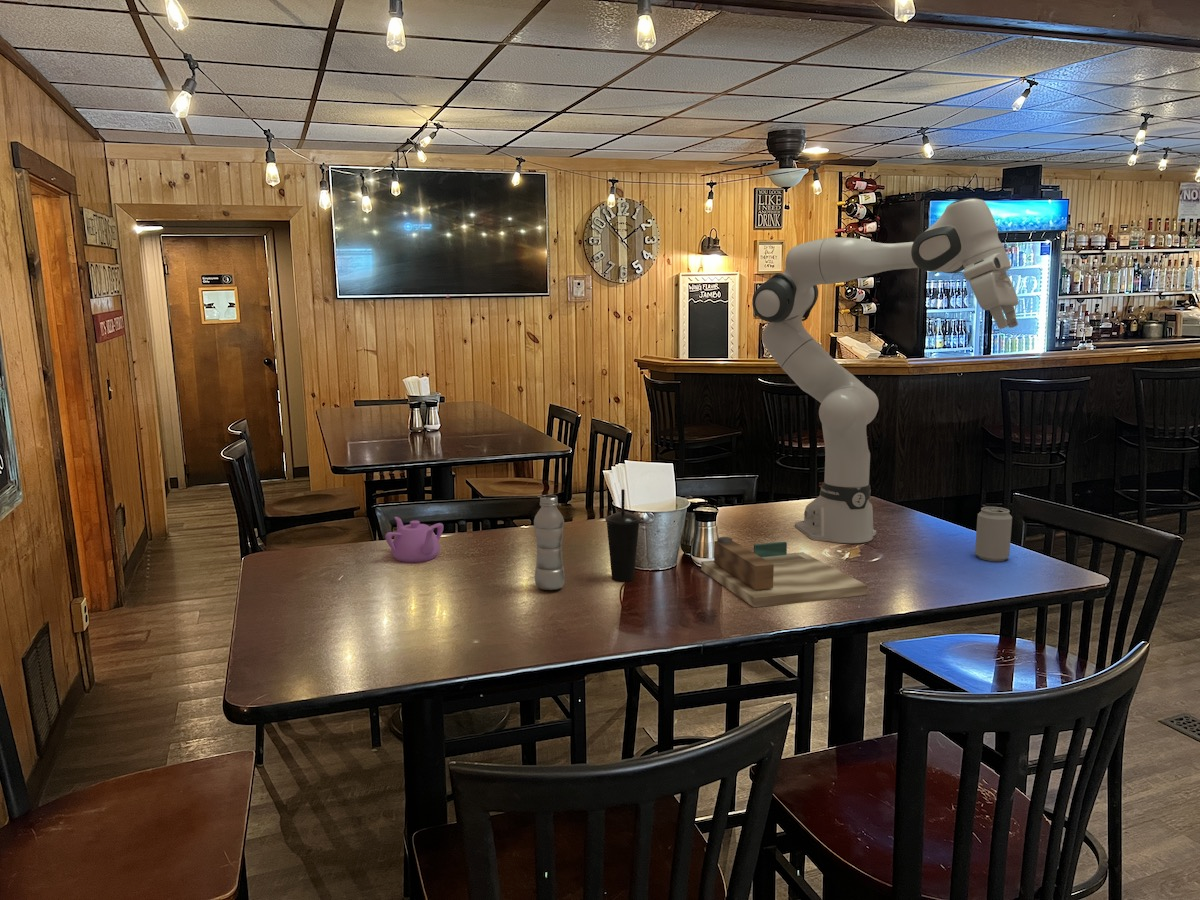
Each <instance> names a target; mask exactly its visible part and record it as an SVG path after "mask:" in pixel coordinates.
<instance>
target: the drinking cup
mask: <svg viewBox="0 0 1200 900" xmlns="http://www.w3.org/2000/svg"><path fill="white" fill-rule="evenodd" d="M625 492H626V491H625V489H624V488H623V489H621V498H620V499H621V505H620V507H621V511H620V512H615V513H613V514H610V515H608V516H606V517H605V519H604V520H605V522H606V530H607V540H608V551H609V560H610V572H611V573H610V574H611V580H613V581H615V582H619V583H620V582H622V583H627V582H631V581H633V580H634V578H635V570H636V569H635V568H636V557H637V550H638V549H637V545H638V537H639V536H638V535H639V527H640V522H641V517H640V516H638V515H635V514H634V513H631V512H626V511H625V500H626V499H625V496H626V495H625Z"/></svg>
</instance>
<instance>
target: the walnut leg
mask: <svg viewBox="0 0 1200 900" xmlns="http://www.w3.org/2000/svg"><path fill="white" fill-rule="evenodd" d="M713 550H714V554H713V555H714V557H713V561H714V563H715V564H717V565H718V566H720V567H721V568H723V569H724V570H726V571H727V572H729V573H730V574H732V575H733V576H735V577H736V578H738V579H740V580H741V581H743V582H744V583H746V584H747V585H749V586H750V587H752V588H753V589H755V590H760V589H770V588H773V574H774V564H772V563H770V562H769V561H767V560H765V559H763V558H762V557H760V556H758V555H756V554H755V553H754V551H751V550H749V549H748V548H746V547H744V546H743V545H741V544H739V543H737V542H736V541H734V540H733V539H732V538H731V537H726V536H720V537H717V540H714V549H713Z"/></svg>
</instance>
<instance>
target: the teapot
mask: <svg viewBox="0 0 1200 900" xmlns="http://www.w3.org/2000/svg"><path fill="white" fill-rule="evenodd" d="M394 520H395V522H396V531H388V532H387V533H385V535H384V538H385V541H386V543H387V545H388V546H389V548H390V553H391V556H393V558H395V560H397V561H399V562H402V563H411V564H412V563H415V564H416V563H425V562H427V561H428V562H429V561H432V560H434V559H435V558H436V557H437V556H438V554H439V553H440V551H441V546H440V542H439V541H440V539H441V537H442V535H443V533H444V532H443V531H444V524H443V523H442V522H438V523H434V524H432V525H430V526H429V525H428V524H426V523H421V522H420V520H411V521H409V524H404V523H403V521H402V519H401V518H400V517H399V516H394ZM436 528H437V530H436V531H437V532H436V534H435V532H434V530H435V529H436ZM393 537H394V538H393ZM392 538H393V539H392Z"/></svg>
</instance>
